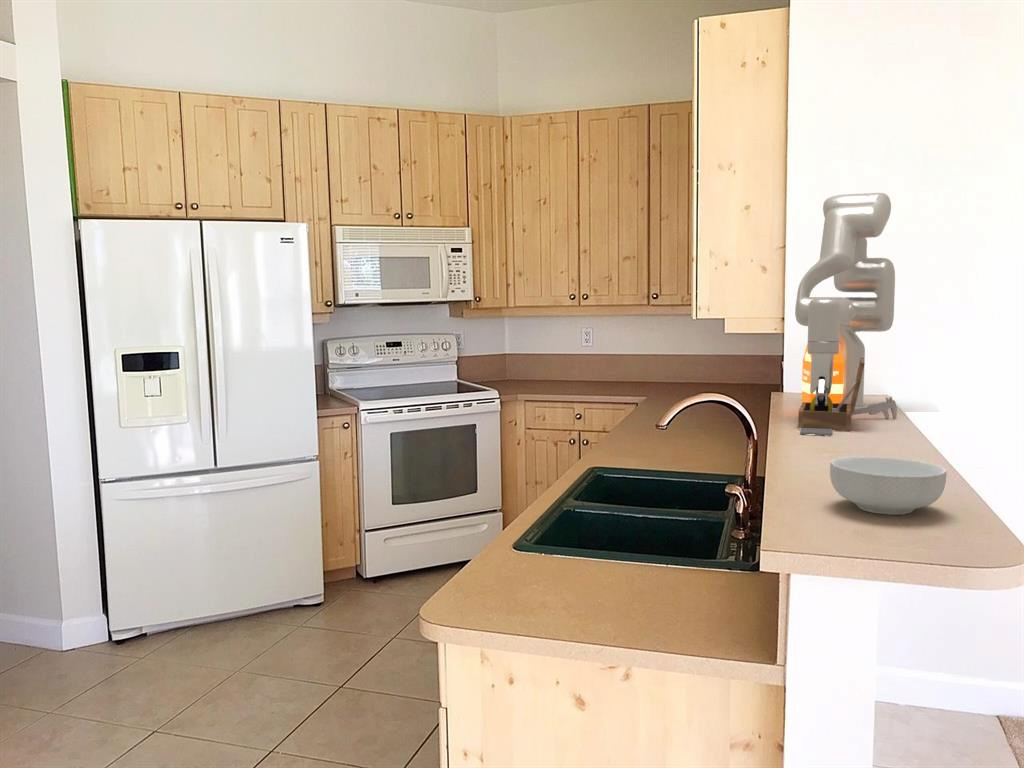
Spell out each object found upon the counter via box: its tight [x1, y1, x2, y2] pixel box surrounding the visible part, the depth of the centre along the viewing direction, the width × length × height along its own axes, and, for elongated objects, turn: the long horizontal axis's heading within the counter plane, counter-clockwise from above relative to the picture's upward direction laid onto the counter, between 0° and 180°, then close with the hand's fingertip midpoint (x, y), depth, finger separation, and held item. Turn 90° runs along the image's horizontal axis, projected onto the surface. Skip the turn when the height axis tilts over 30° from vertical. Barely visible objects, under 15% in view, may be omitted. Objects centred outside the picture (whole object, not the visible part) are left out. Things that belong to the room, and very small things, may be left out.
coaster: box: [799, 428, 833, 437], centre depth 211 cm, size 7×7×1 cm
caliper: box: [851, 395, 898, 420], centre depth 232 cm, size 20×1×6 cm, turn 87°
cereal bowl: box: [829, 455, 947, 516], centre depth 138 cm, size 17×17×7 cm
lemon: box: [810, 396, 833, 412], centre depth 223 cm, size 6×6×8 cm
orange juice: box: [801, 341, 844, 403], centre depth 242 cm, size 8×9×20 cm
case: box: [797, 358, 866, 432], centre depth 222 cm, size 18×15×17 cm
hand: (821, 418), depth 224 cm, fingers closed on lemon, 5 cm apart
